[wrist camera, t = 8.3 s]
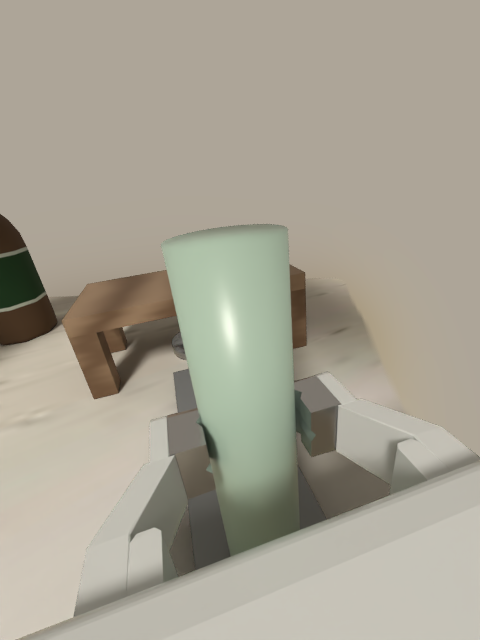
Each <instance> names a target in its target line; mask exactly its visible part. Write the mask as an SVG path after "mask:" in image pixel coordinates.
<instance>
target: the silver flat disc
mask: <svg viewBox="0 0 480 640" xmlns="http://www.w3.org/2000/svg"><path fill="white" fill-rule="evenodd" d="M172 345H173V349H174V353H175V355H176V356H177V357H179V358H181V359H184V360H187V359H186V354H185V350H184V345H183V341H182V336H181V332H179V333H178V334H177V335H175V336H174V338H173V340H172Z"/></svg>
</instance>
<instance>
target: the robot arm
mask: <svg viewBox="0 0 480 640" xmlns="http://www.w3.org/2000/svg"><path fill="white" fill-rule="evenodd" d="M294 393H295V418H296V432H298V433H300V434H301V439H302V443H303V444H304V446H305V448H306V449H307V451H308V452H309V454H310V456H311V457H314V456H317V455H321V454H324V453H327V452H331V451H334V450H336V451H337V452H338V453H340V454H341V455H343V456H345V457H346V458H348V459H349V460H351V461H353V462H354V463H356V464H357V465H359V466H361V467H362V468H364V469H366V470H367V471H369V472H370V473H372V474H374V475H375V476H377V477H378V478H380V479H382V480H383V481H385V482H386V483H388V484H390V485H391V488H390V494H389V496H386V497H384V498H381V499H379V500H376V501H373V502H371V503H368V504H366V505H363V506H360V507H358V508H355V509H353V510H350V511H348V512H345V513H342V514H340V515H337V516H335V517H332V518H330V519H327V520H324V521H322V522H319V523H317V524H314V525H311V526H309V527H306V528H304V529H301V530H298V531H296V532H293V533H291V534H288V535H286V536H283V537H280V538H278V539H275V540H273V541H270V542H267V543H265V544H262V545H260V546H257V547H254V548H252V549H249V550H247V551H244V552H242V553H239V554H236V555H234V556H231V557H229V558H226V559H223V560H221V561H218V562H216V563H213V564H210V565H208V566H205V567H203V568H200V569H198V570H195V571H192V572H190V573H187V574H185V575H182V576H179V577H178V574H177V571H176V569H175V566H174V563H173V561H172V558H171V555H170V553H169V551H170V549H171V546H172V543H173V541H174V538H175V535H176V533H177V530H178V527H179V525H180V522H181V520H182V517H183V514H184V512H185V509H186V506H187V504H188V499H191V498H194V497H196V496H199V495H202V494H205V493H207V492H210V491H213V490H215V489H216V486H215V481H214V477H213V472H212V467H211V462H210V458H209V453H208V448H207V444H206V440H205V435H204V430H203V426H202V422H201V417H200V414H199V411H198V408H195V409H191V410H187V411H183V412H179V413H175V414H171V415H167V416H164V417H160V418H156V419H152V420H151V421H150V423H149V463H147V464H144V465H143V466H142V468H141V469H140V471H139V472H138V474H137V475H136V477H135V478H134V480H133V481H132V482H131V484H130V485H129V487H128V488H127V490H126V491H125V493H124V494H123V496H122V497H121V499H120V500H119V502H118V503H117V505H116V506H115V508H114V509H113V511H112V512H111V513H110V515H109V516H108V518H107V519H106V521H105V522H104V524H103V525H102V527H101V528H100V530H99V531H98V533H97V534H96V536H95V537H94V539H93V540H92V542H91V543H90V544H89V546H88V547H87V549H86V554H85V559H84V564H83V570H82V575H81V580H80V585H79V591H78V596H77V601H76V607H75V612H74V617H73V618H71V619H68V620H66V621H63V622H60V623H58V624H55V625H53V626H50V627H47V628H45V629H42V630H40V631H37V632H34V633H32V634H29V635H27V636H24V637H22V638H19V639H16V640H480V457H479V456H478V455H477V454H475V453H474V452H473V451H472V450H470V449H469V448H467V446H465V445H464V444H463V443H461V442H460V441H459V440H458V439H457V438H455V437H454V436H453V435H451V434H450V433H449V432H448V431H447V430H445V429H444V428H443V427H441V426H439V425H436V424H433V423H430V422H427V421H424V420H421V419H418V418H416V417H413V416H410V415H407V414H404V413H401V412H399V411H396V410H393V409H390V408H387V407H384V406H381V405H378V404H376V403H373V402H370V401H367V400H364V399H358V400H357V399H356V398H355V397H354V396H353V395H352V394H351V393H350V392H349V391H348V390H347V389H346V388H345V387H344V386H343V385H342V384H341V383H340V382H339V381H338V380H337V379H336V378H335V377H334V376H333V375H332V374H331V373H330V372H324V373H320V374H317V375H314V376H311V377H308V378H304V379H301V380H297V381H294Z"/></svg>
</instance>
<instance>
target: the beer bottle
mask: <svg viewBox="0 0 480 640" xmlns="http://www.w3.org/2000/svg"><path fill="white" fill-rule="evenodd" d="M56 324H57V319H56V316H55V313H54V310H53V308H52V305H51V303H50V301H49V298H48V296H47V294H46V291H45V289H44V287H43V284H42V282H41V280H40V277H39V275H38V273H37V270H36V268H35V265H34V263H33V261H32V258H31V256H30V254H29V252H28V249H27V246H26V245H25V243H24V241H23V239H22V237H21V235H20V233H19V232H18V231H17V229H15V227H14V226H13V225H12V224H11V223H10V222H9V220H7V219H6V218H5V217H4V216H2V215H1V214H0V344H2V345H3V346H4V345H10V344H16V343H22V342H27V341H29V340H32V339H34V338H36V337H39V336H41V335H44V334H46V333H48V332H49V331H50V330H51V329H52V328H53V327H54V326H55V325H56Z"/></svg>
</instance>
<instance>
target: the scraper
mask: <svg viewBox="0 0 480 640" xmlns="http://www.w3.org/2000/svg"><path fill="white" fill-rule="evenodd" d="M161 247H162V251H163V256H164V260H165V264H166V269H167V274H168V278H169V283H170V287H171V292H172V296H173V300H174V305H175V309H176V314H177V318H178V323H179V327H180V332H181V336H182V341H183V345H184V350H185V354H186V359H187V363H188V368H189V369H186V370H182V371H178V372H174V373H173V374H174V383H175V392H176V400H177V409H178V413H179V412H183V411H187V410H191V409H195V408H198V411H199V414H200V417H201V422H202V426H203V430H204V435H205V440H206V444H207V448H208V453H209V458H210V462H211V467H212V472H213V477H214V481H215V486H216V489H215V490H213V491H210V492H207V493H205V494H202V495H199V496H196V497H194V498H191V499H188V508H189V517H190V526H191V535H192V544H193V553H194V562H195V570H198V569H200V568H203V567H205V566H208V565H210V564H213V563H216V562H218V561H221V560H223V559H226V558H229V557H231V556H234V555H236V554H239V553H242V552H244V551H247V550H249V549H252V548H254V547H257V546H260V545H262V544H265V543H267V542H270V541H273V540H275V539H278V538H280V537H283V536H286V535H288V534H291V533H293V532H296V531H298V530H301V529H304V528H306V527H309V526H311V525H314V524H317V523H319V522H322V521H324V520H327V519H326V517H325V515H324V513H323V511H322V509H321V508H320V506H319V504H318V502H317V500H316V498H315V496H314V494H313V493H312V491H311V489H310V487H309V485H308V483H307V481H306V479H305V478H304V476H303V474H302V472H301V470H300V468H299V466H298V464H297V443H296V418H295V393H294V368H293V343H292V318H291V293H290V268H289V244H288V229H287V227H285V226H281V225H272V224H253V225H238V226H228V227H220V228H213V229H207V230H201V231H196V232H192V233H187V234H183V235H179V236H176V237H173V238H170V239H168V240H166V241H164V242H163V243H162V244H161Z"/></svg>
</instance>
